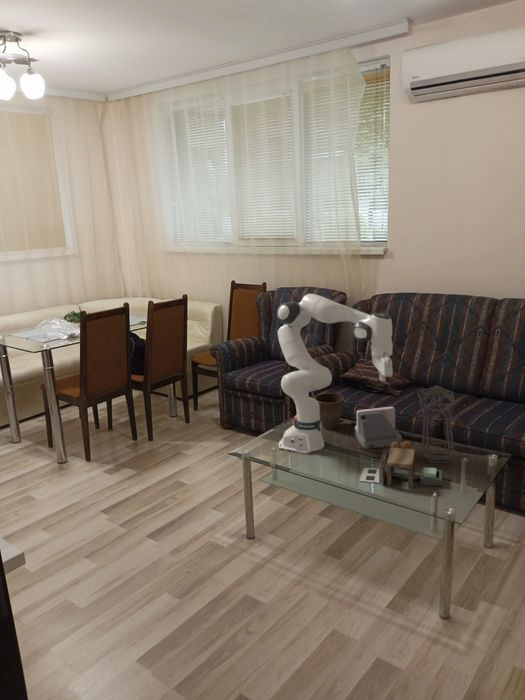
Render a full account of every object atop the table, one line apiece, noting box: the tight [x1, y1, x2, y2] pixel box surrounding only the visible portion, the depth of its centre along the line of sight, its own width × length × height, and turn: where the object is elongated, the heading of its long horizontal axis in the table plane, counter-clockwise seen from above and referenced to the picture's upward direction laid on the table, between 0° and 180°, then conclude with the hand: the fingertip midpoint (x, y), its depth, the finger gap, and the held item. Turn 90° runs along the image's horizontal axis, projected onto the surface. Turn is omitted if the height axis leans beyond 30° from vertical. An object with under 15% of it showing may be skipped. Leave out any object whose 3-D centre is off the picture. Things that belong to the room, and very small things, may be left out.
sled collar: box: [378, 452, 443, 487], centre depth 236 cm, size 25×14×8 cm, turn 72°
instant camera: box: [354, 406, 403, 449], centre depth 275 cm, size 21×21×15 cm
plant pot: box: [314, 392, 344, 430], centre depth 294 cm, size 15×15×16 cm
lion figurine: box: [389, 440, 413, 449], centre depth 256 cm, size 15×5×9 cm, turn 130°
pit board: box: [359, 467, 380, 484], centre depth 242 cm, size 8×12×1 cm, turn 162°
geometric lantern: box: [416, 384, 458, 464], centre depth 248 cm, size 16×16×35 cm
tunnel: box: [386, 447, 415, 489], centre depth 237 cm, size 10×14×10 cm
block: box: [423, 466, 437, 478], centre depth 234 cm, size 5×5×5 cm
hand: (382, 380), depth 248 cm, fingers closed
